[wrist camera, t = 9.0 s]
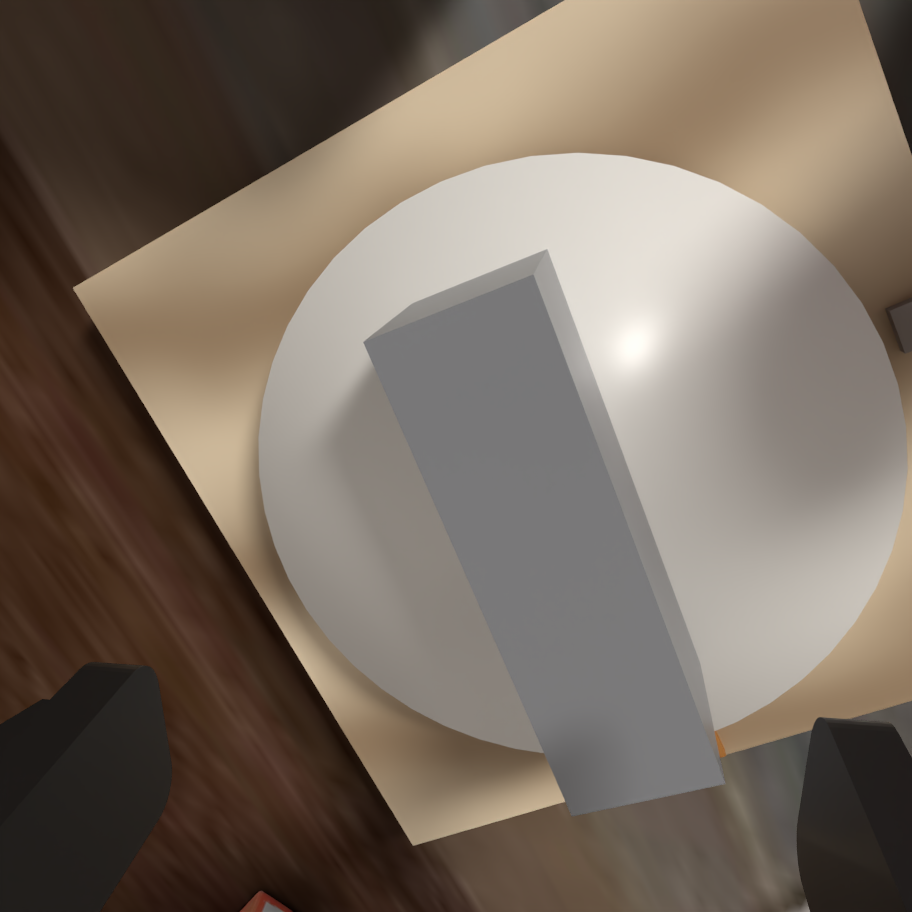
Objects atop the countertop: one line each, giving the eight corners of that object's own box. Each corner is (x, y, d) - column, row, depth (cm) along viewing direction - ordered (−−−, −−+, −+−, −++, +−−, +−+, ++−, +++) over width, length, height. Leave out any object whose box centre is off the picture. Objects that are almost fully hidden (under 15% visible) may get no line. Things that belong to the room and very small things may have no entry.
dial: (782, 34, 16) (868, -24, 11) (949, 639, 20) (1074, 808, 15) (183, 297, 20) (40, 346, 15) (414, 768, 23) (364, 938, 18)
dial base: (116, 277, 22) (65, 289, 20) (786, -111, 17) (813, -149, 15) (425, 797, 26) (411, 853, 24) (1039, 608, 21) (1088, 658, 19)
